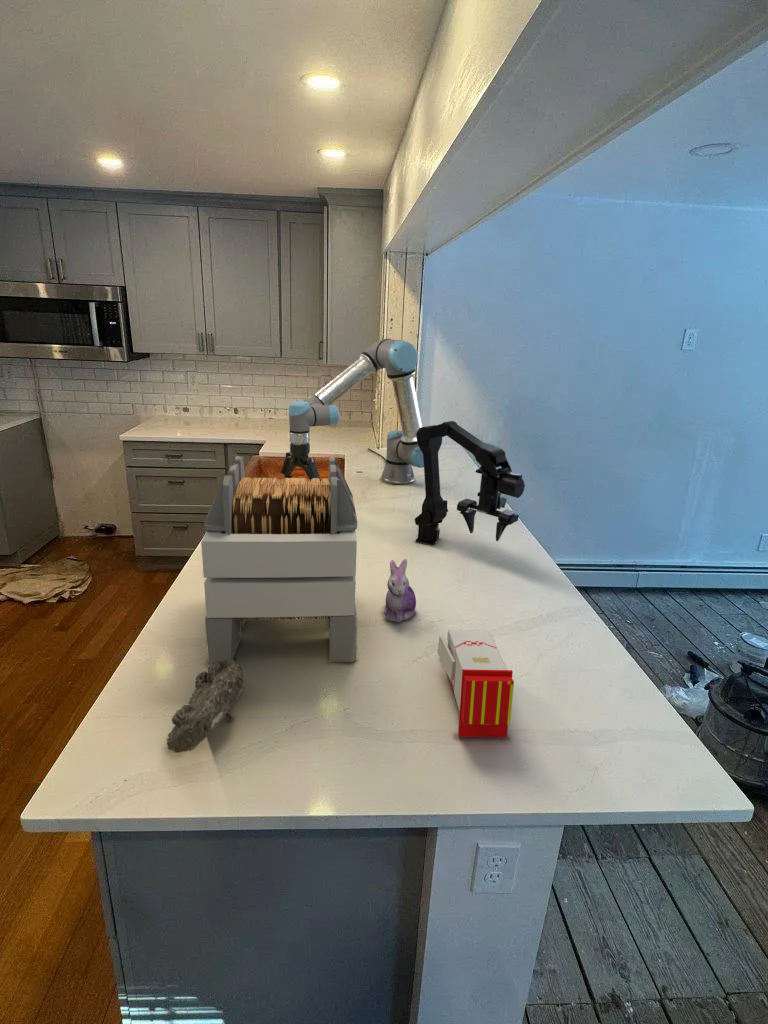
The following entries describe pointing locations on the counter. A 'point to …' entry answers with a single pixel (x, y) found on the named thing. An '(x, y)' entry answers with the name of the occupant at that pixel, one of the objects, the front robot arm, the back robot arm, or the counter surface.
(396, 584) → the figurine
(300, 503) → the record storage crate
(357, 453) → the counter surface
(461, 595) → the counter surface
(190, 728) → the fossil
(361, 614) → the counter surface
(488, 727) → the toy
